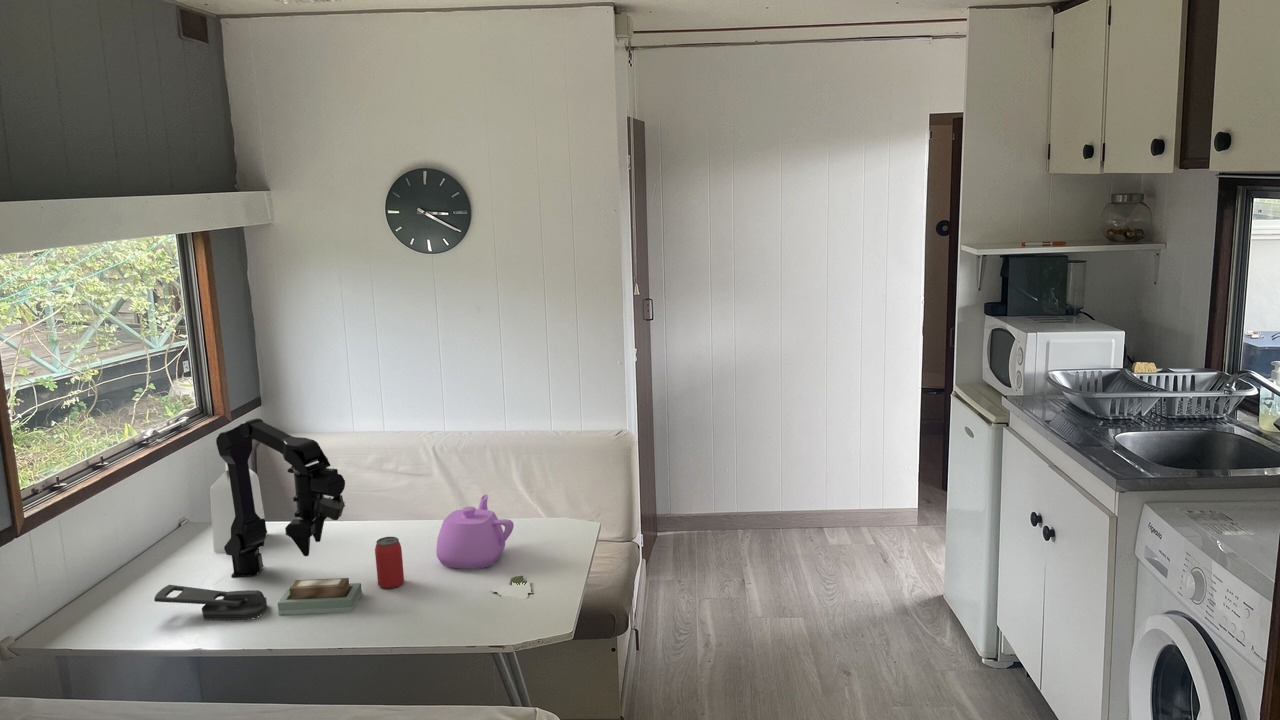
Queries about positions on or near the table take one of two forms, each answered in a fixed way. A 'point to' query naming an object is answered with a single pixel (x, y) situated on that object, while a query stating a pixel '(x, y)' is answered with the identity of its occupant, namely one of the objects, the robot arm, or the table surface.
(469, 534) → the teapot
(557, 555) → the table surface
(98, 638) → the table surface
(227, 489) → the milk
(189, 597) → the zipper pull
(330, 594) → the brown two-tone block
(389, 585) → the beer can
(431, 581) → the table surface
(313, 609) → the cradle
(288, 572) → the table surface
